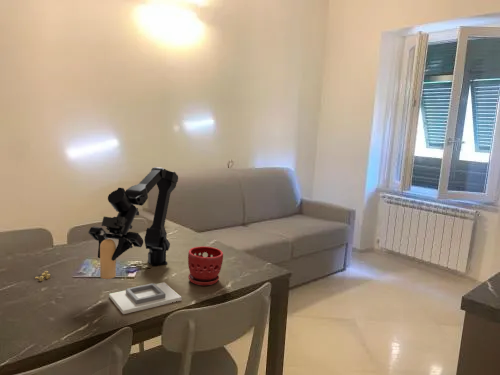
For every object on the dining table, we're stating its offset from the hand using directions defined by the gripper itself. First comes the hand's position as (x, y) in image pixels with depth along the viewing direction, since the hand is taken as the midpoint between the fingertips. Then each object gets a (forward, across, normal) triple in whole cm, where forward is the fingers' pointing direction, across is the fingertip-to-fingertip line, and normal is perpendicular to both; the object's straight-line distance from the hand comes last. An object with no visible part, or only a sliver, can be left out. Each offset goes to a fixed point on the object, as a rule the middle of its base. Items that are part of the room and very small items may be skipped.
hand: (105, 258), depth 136 cm
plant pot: (-8, +25, +28) cm, 39 cm away
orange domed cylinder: (+4, 0, +6) cm, 7 cm away
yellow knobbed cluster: (+7, -30, +13) cm, 33 cm away
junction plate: (+7, +13, +12) cm, 19 cm away
